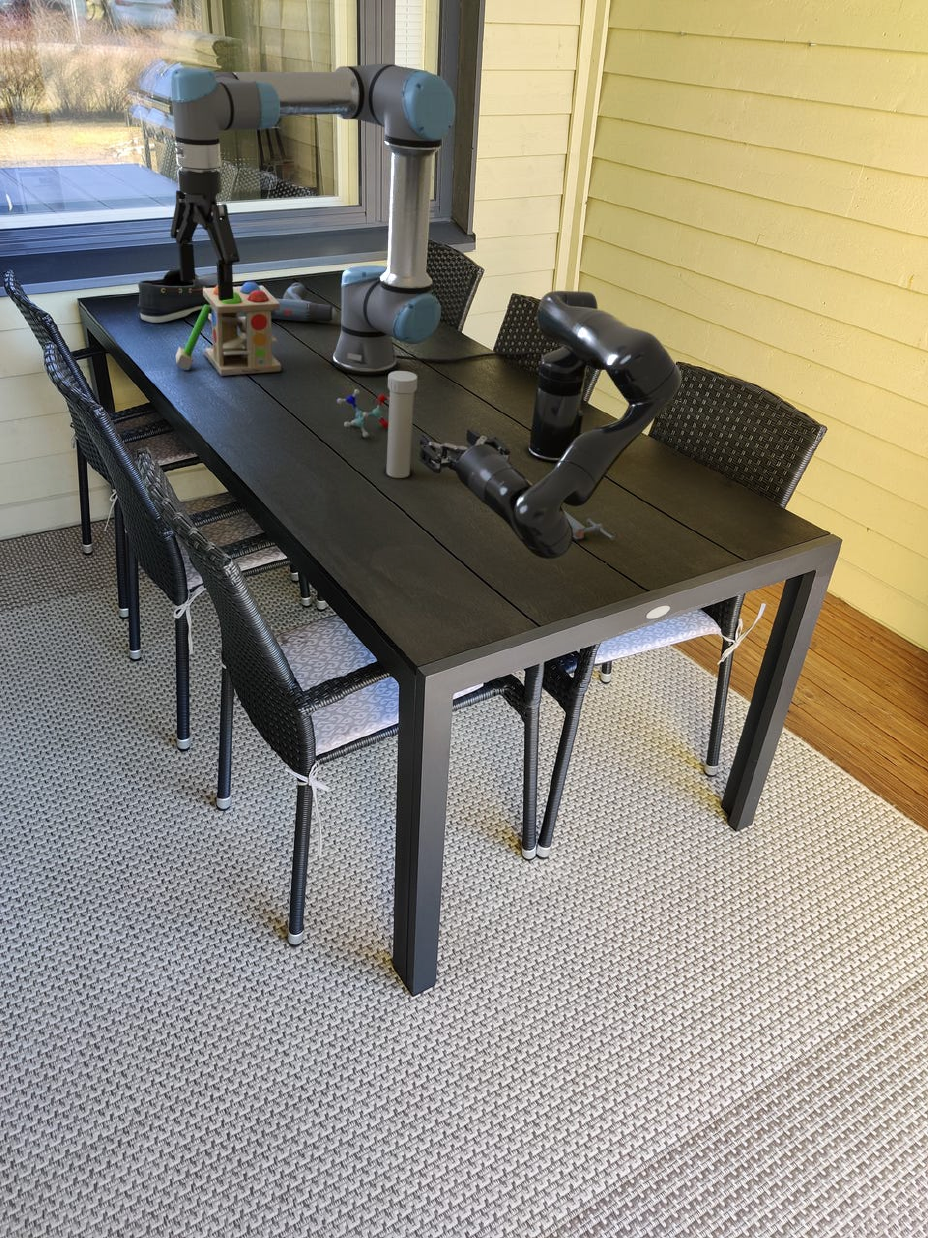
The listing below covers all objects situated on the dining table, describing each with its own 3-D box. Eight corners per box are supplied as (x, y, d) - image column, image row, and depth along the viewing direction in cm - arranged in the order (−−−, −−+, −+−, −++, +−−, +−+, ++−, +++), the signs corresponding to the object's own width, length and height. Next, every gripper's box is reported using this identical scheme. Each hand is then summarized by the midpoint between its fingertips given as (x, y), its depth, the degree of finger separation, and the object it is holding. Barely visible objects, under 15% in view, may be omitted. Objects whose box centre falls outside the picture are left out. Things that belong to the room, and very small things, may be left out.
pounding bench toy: (183, 379, 220) (176, 299, 210) (169, 357, 231) (162, 280, 221) (282, 371, 230) (280, 294, 220) (264, 350, 240) (262, 276, 230)
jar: (388, 466, 193) (392, 372, 182) (411, 469, 193) (416, 375, 182) (384, 476, 189) (388, 381, 178) (408, 479, 189) (413, 384, 178)
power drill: (344, 304, 276) (335, 327, 259) (277, 298, 275) (264, 321, 258) (344, 285, 273) (335, 306, 256) (277, 279, 272) (264, 300, 255)
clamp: (523, 504, 179) (568, 495, 184) (522, 515, 180) (566, 506, 185) (570, 543, 169) (616, 532, 173) (569, 554, 170) (614, 543, 174)
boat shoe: (248, 301, 272) (246, 262, 267) (158, 325, 248) (153, 283, 243) (214, 293, 278) (211, 255, 272) (123, 315, 254) (117, 274, 248)
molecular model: (383, 429, 198) (367, 381, 197) (344, 444, 202) (327, 397, 200) (405, 426, 209) (389, 380, 207) (367, 440, 212) (351, 395, 211)
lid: (389, 381, 184) (390, 369, 182) (418, 384, 184) (419, 372, 182) (385, 391, 179) (386, 379, 178) (414, 394, 179) (415, 382, 178)
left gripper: (145, 155, 179) (155, 274, 191) (217, 183, 164) (224, 310, 176) (182, 153, 183) (190, 269, 195) (256, 180, 169) (260, 304, 181)
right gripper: (447, 504, 153) (406, 461, 165) (526, 492, 159) (481, 452, 171) (451, 459, 149) (408, 419, 161) (532, 450, 155) (485, 411, 167)
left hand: (206, 289), depth 186 cm, fingers open, 13 cm apart
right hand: (446, 436), depth 166 cm, fingers open, 8 cm apart
